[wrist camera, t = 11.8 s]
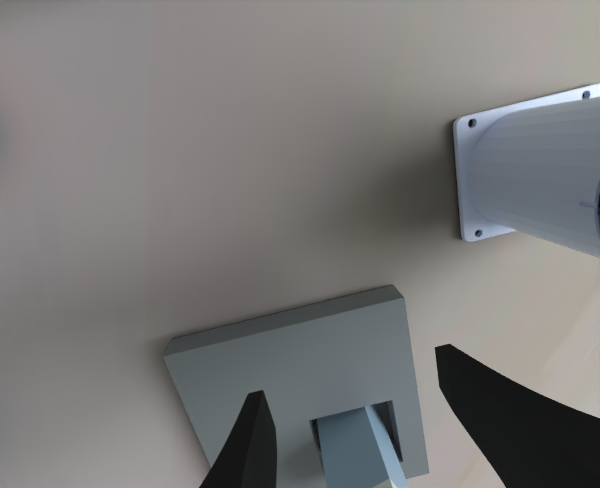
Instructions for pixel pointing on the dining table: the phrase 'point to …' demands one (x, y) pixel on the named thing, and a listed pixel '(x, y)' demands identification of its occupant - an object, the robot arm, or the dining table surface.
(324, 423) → the plug block
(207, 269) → the dining table surface
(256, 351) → the grey socket board
